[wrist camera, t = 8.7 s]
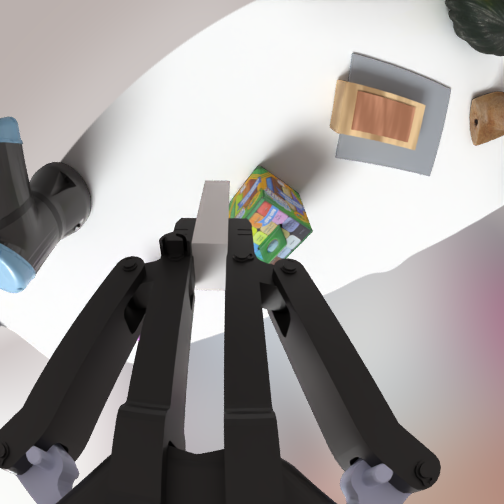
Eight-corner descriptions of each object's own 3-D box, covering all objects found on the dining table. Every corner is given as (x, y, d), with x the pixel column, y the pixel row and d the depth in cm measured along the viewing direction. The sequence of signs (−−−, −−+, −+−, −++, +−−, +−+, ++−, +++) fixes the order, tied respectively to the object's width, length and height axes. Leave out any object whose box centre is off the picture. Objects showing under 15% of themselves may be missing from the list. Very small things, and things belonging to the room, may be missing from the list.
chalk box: (258, 163, 44) (263, 206, 32) (301, 194, 47) (320, 244, 35) (226, 204, 48) (220, 258, 36) (268, 230, 52) (275, 287, 40)
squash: (491, -21, 12) (509, -21, 6) (518, 48, 20) (539, 68, 15) (431, -16, 23) (431, -17, 17) (461, 49, 31) (468, 67, 25)
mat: (335, 156, 43) (336, 157, 43) (352, 53, 32) (353, 53, 32) (428, 175, 44) (429, 176, 44) (449, 88, 33) (450, 89, 33)
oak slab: (337, 133, 36) (415, 151, 37) (346, 81, 31) (426, 105, 32) (329, 127, 39) (403, 143, 40) (337, 79, 35) (412, 100, 35)
